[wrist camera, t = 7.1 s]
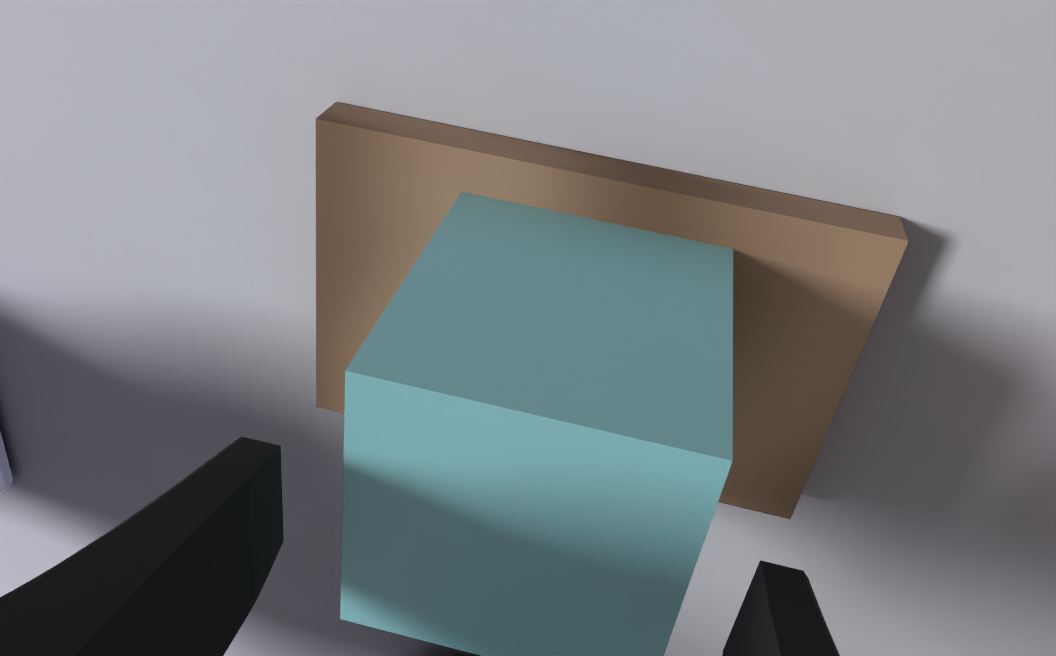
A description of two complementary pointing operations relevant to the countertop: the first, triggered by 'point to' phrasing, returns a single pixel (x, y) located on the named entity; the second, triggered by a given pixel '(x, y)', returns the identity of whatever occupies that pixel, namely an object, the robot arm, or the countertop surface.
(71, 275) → the countertop surface
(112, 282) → the countertop surface
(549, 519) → the teal matte cube
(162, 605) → the robot arm
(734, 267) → the brown rectangular board
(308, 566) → the countertop surface
